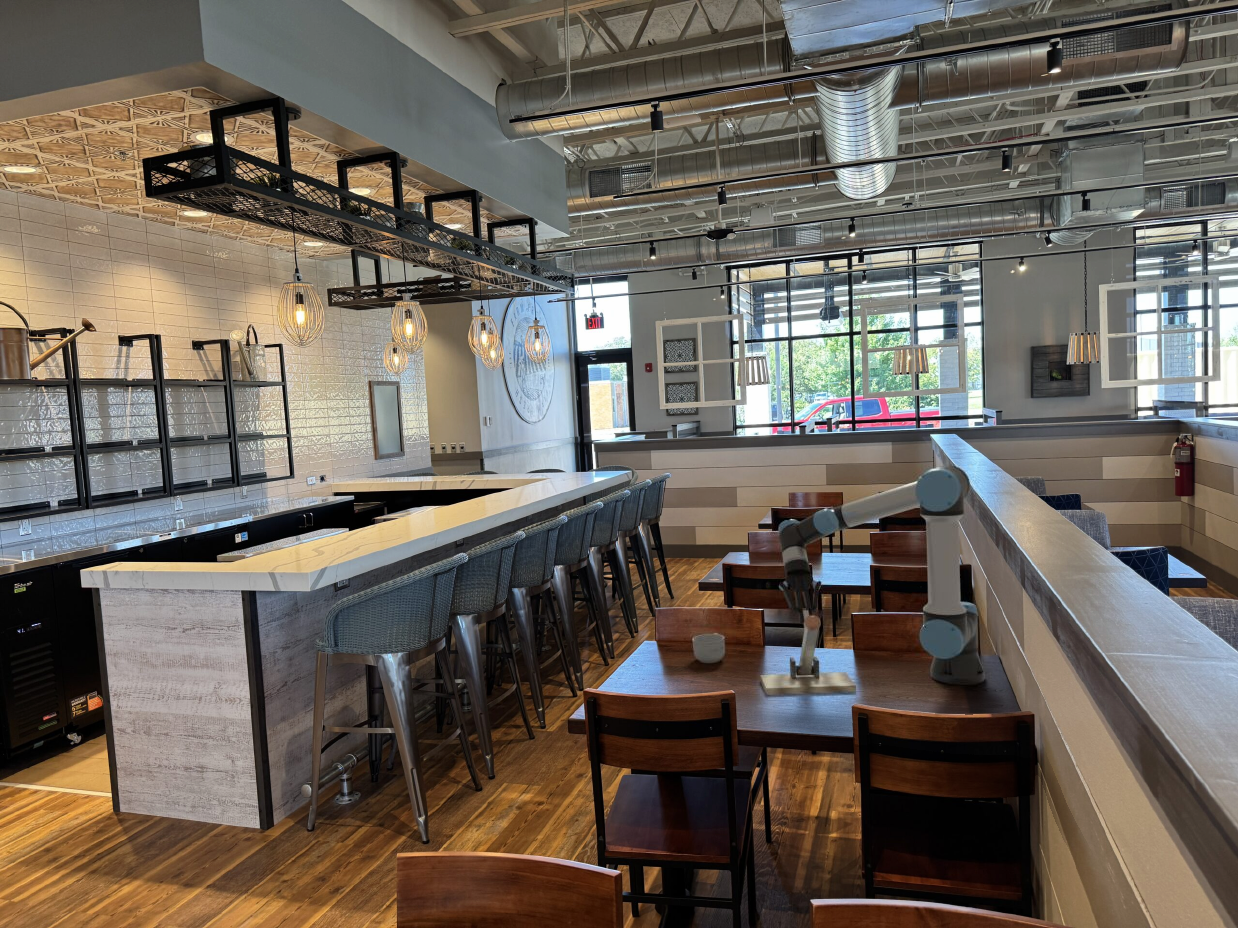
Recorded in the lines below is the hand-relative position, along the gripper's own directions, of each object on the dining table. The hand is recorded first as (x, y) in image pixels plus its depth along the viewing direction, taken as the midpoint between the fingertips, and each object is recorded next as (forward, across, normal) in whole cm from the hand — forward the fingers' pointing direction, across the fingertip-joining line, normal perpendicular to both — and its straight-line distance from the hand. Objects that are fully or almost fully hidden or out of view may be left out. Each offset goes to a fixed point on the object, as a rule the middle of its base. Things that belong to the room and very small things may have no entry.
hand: (808, 632), depth 236 cm
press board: (+9, 0, -16) cm, 19 cm away
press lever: (+4, 0, -17) cm, 18 cm away
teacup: (-12, +26, -38) cm, 48 cm away
